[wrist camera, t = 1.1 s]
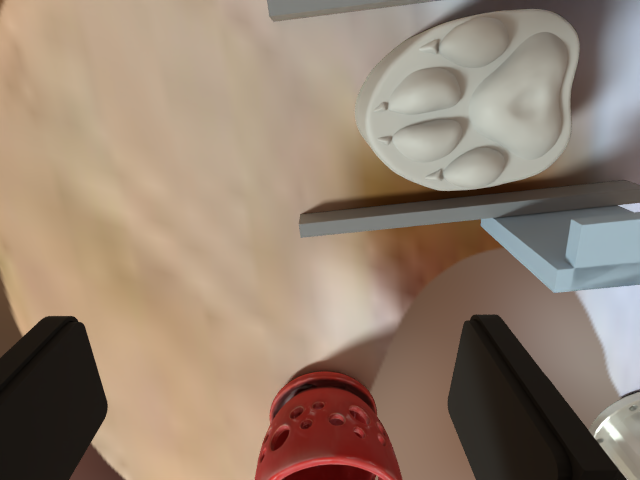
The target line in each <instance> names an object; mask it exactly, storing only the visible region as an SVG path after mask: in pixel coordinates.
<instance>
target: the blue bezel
mask: <svg viewBox="0 0 640 480" xmlns="http://www.w3.org/2000/svg"><path fill="white" fill-rule="evenodd" d="M481 227H482V228H484V229H485V230H486V231H487V232H488V233H489V234H490V235H491V236H492V237H493V238H495V239H496V240H497V241H498V242H499V243H500V244H501V245H502V246H503V247H504V248H505V249H507V250H508V251H509V252H510V253H511V254H512V255H513V256H514V257H515V258H516V259H518V260H519V261H520V262H521V263H522V264H523V265H524V266H525V267H526V268H527V269H529V270H530V271H531V272H532V273H533V274H534V275H535V276H536V277H537V278H538V279H540V280H541V281H542V282H543V283H544V284H545V285H546V286H547V287H548V288H549V289H551V290H552V291H553V292H554V293H556V292H567V291H578V290H588V289H599V288H610V287H620V286H631V285H640V212H636V213H634V212H632V211H629V210H627V209H625V208H622V207H620V206H618V205H613V206H603V207H593V208H584V209H574V210H564V211H555V212H545V213H535V214H526V215H516V216H506V217H496V218H487V219H481Z"/></svg>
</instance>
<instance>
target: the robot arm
mask: <svg viewBox="0 0 640 480" xmlns="http://www.w3.org/2000/svg"><path fill="white" fill-rule="evenodd" d="M107 408H108V404H107V400H106V396H105V393H104V390H103V386H102V383H101V380H100V376H99V373H98V369H97V366H96V363H95V359H94V356H93V353H92V349H91V346H90V342H89V339H88V336H87V332H86V329H85V326H84V324H83V323H81V322H78V320H77V319H76V318H75V317H73V316H48V317H45V318H43V319H42V320H41V321H39V322H38V323H37V324H36V325H35V326H34V327H33V328H32V329H31V330H30V331H29V332H28V333H27V334H26V335H24V336H23V337H22V338H21V339H20V340H19V341H18V342H17V343H16V344H15V345H14V346H13V347H12V348H11V349H10V350H9V351H7V352H6V353H5V354H4V355H3V356H2V357H1V358H0V480H69V479H70V477H71V475H72V473H73V472H74V470H75V468H76V467H77V465H78V463H79V462H80V460H81V458H82V456H83V455H84V453H85V451H86V450H87V448H88V446H89V445H90V443H91V441H92V439H93V438H94V436H95V434H96V433H97V431H98V429H99V428H100V426H101V424H102V422H103V421H104V419H105V417H106V414H107ZM448 410H449V414H450V417H451V419H452V422H453V424H454V427H455V429H456V432H457V434H458V436H459V439H460V441H461V444H462V446H463V449H464V451H465V454H466V456H467V458H468V461H469V463H470V466H471V468H472V471H473V473H474V476H475V478H476V480H627V479H628V480H640V392H637V393H635V394H632V395H629V396H626V397H624V398H622V399H620V400H618V401H617V402H615V403H613V404H612V405H610V406H609V407H607V408H606V409H605V410H604V411H603V412H602V413H600V414H599V416H598V417H597V418H596V419H595V420H594V422H593V423H592V425H591V427H590V429H589V430H588V429H587V428H586V426H585V425H584V424H583V423H582V421H581V420H580V419H579V418H578V416H577V415H576V413H575V412H574V411H573V410H572V408H571V407H570V406H569V404H568V403H567V402H566V401H565V400H564V398H563V397H562V395H561V394H560V393H559V392H558V390H557V389H556V388H555V386H554V385H553V384H552V382H551V381H550V380H549V379H548V377H547V376H546V375H545V374H544V373H543V372H542V370H541V369H540V368H539V366H538V365H537V364H536V363H535V361H534V360H533V359H532V357H531V356H530V355H529V353H528V352H527V351H526V350H525V348H524V347H523V346H522V344H521V343H520V342H519V341H518V339H517V338H516V337H515V335H514V334H513V333H512V332H511V330H510V329H509V328H508V326H507V325H506V324H505V322H504V321H503V320H502V319H501V317H499V316H498V315H473V316H472V317H471V319H470V321H465V322H464V325H463V329H462V334H461V339H460V344H459V348H458V353H457V358H456V363H455V368H454V372H453V377H452V382H451V387H450V392H449V396H448ZM622 473H623V474H624V475H625V477H626V478H627V479H626V478H625V477H624V475H623V474H622Z"/></svg>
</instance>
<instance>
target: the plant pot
mask: <svg viewBox="0 0 640 480" xmlns="http://www.w3.org/2000/svg"><path fill="white" fill-rule="evenodd" d="M376 475H377V476H378V480H402V476H401V472H400V469H399V465H398V462H397V459H396V456H395V453H394V450H393V447H392V444H391V442H390V440H389V437H388V435H387V433H386V431H385V429H384V427H383V425H382V423H381V422H380V420H379V419H378V417H377V409H376V405H375V402H374V399H373V397H372V395H371V394H370V392H369V391H368V390H367V389H366V388H365V387H364V386H363V385H362V384H361V383H360V382H358V381H357V380H355V379H353V378H351V377H349V376H347V375H344V374H341V373H336V372H327V371H322V372H313V373H309V374H305V375H302V376H300V377H297V378H296V379H294V380H292V381H290V382H289V383H288V384H286V385H285V386H284V387H283V388H282V389H281V390H280V391H279V392H278V394H277V395H276V397H275V398H274V401H273V403H272V405H271V409H270V426H269V429H268V431H267V433H266V436H265V438H264V441H263V444H262V447H261V451H260V454H259V458H258V465H257V470H256V475H255V480H375V477H376Z"/></svg>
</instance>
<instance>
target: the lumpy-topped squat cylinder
mask: <svg viewBox="0 0 640 480" xmlns="http://www.w3.org/2000/svg"><path fill="white" fill-rule="evenodd" d="M579 52H580V43H579V37H578V35H577V33H576V31H575V29H574V28H573V26H572V25H571V24H570V23H569V22H568V21H567V20H565V19H564V18H563V17H561V16H560V15H558V14H556V13H554V12H552V11H548V10H543V9H520V10H504V11H495V12H489V13H483V14H478V15H473V16H469V17H464V18H460V19H456V20H453V21H449V22H446V23H443V24H440V25H438V26H435V27H433V28H430V29H428V30H426V31H424V32H422V33H420V34H418V35H415V36H413V37H411V38H409V39H407V40H405V41H404V42H402V43H401V44H400V45H398V46H397V47H396V48H395V49H393V50H392V51H391V52H390V53H389V54H388V55H386V56H385V57H384V58H383V59H382V60H381V61H380V62H379V63H378V64H377V65H376V66H375V67H374V68H373V70H372V71H371V72H370V74H369V75H368V77H367V78H366V80H365V82H364V84H363V85H362V87H361V90H360V92H359V94H358V97H357V100H356V105H355V119H356V124H357V127H358V129H359V131H360V133H361V135H362V136H363V138H364V139H365V140H366V142H367V143H368V144H369V146H370V147H371V148H372V150H373V151H374V152H375V154H376V155H377V156H378V157H379V158H380V160H381V161H382V162H383V163H384V164H385V165H387V166H388V167H389V168H390V169H391V170H392V171H394V172H395V173H397V174H398V175H400V176H402V177H404V178H406V179H408V180H410V181H412V182H415V183H418V184H420V185H423V186H425V187H428V188H431V189H435V190H440V191H456V190H472V189H480V188H486V187H492V186H497V185H501V184H504V183H509V182H514V181H517V180H521V179H525V178H528V177H531V176H534V175H536V174H538V173H541V172H542V171H544V170H545V169H547V168H548V167H549V166H550V165H552V164H553V163H554V162H555V161H556V160H557V159H558V157H559V156H560V155H561V154H562V153H563V151H564V150H565V148H566V146H567V144H568V142H569V139H570V135H571V128H572V119H571V107H570V99H571V89H572V83H573V79H574V76H575V72H576V68H577V65H578V60H579Z"/></svg>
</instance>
